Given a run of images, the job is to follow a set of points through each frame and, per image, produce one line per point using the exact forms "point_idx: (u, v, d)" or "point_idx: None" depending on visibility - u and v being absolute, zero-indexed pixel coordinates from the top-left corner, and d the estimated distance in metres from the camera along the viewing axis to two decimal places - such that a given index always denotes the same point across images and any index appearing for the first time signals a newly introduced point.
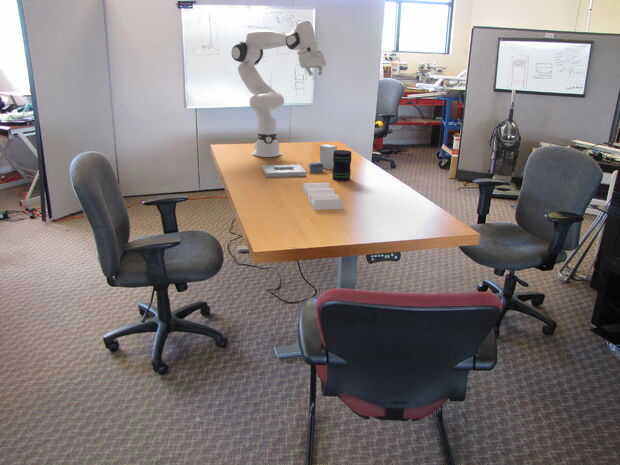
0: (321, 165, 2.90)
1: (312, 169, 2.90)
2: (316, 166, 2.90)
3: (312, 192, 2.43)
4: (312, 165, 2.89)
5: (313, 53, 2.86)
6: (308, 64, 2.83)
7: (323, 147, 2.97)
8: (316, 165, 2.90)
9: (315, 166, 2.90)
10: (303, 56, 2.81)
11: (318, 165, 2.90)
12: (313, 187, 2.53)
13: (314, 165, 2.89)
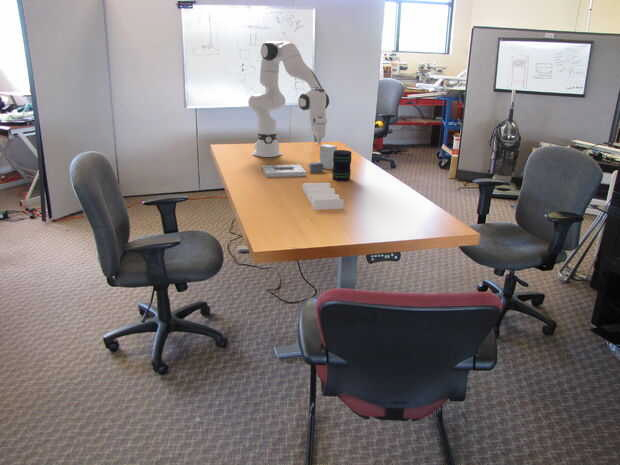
0: (321, 165, 2.90)
1: (312, 169, 2.90)
2: (316, 166, 2.90)
3: (312, 192, 2.43)
4: (312, 165, 2.89)
5: None
6: None
7: (323, 147, 2.97)
8: (316, 165, 2.90)
9: (315, 166, 2.90)
10: (324, 127, 2.75)
11: (318, 165, 2.90)
12: (313, 187, 2.53)
13: (314, 165, 2.89)
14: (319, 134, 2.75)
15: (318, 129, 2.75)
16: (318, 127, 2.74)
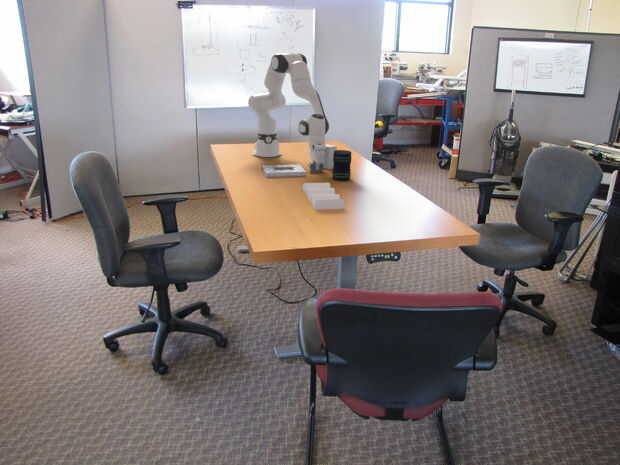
0: (321, 165, 2.90)
1: (312, 169, 2.90)
2: None
3: (312, 192, 2.43)
4: (312, 165, 2.89)
5: None
6: None
7: None
8: None
9: (315, 166, 2.90)
10: (323, 154, 2.80)
11: None
12: (313, 187, 2.53)
13: (314, 165, 2.89)
14: (318, 160, 2.80)
15: (317, 156, 2.80)
16: (317, 154, 2.80)
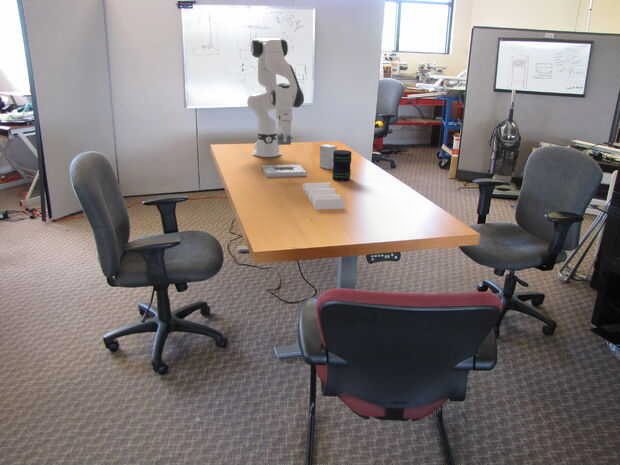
0: (289, 137, 2.80)
1: (279, 141, 2.79)
2: None
3: (313, 192, 2.43)
4: (279, 137, 2.78)
5: None
6: None
7: (323, 147, 2.97)
8: None
9: (282, 138, 2.79)
10: (289, 124, 2.70)
11: None
12: (314, 187, 2.53)
13: (281, 137, 2.79)
14: (284, 131, 2.70)
15: (283, 126, 2.69)
16: (283, 124, 2.69)
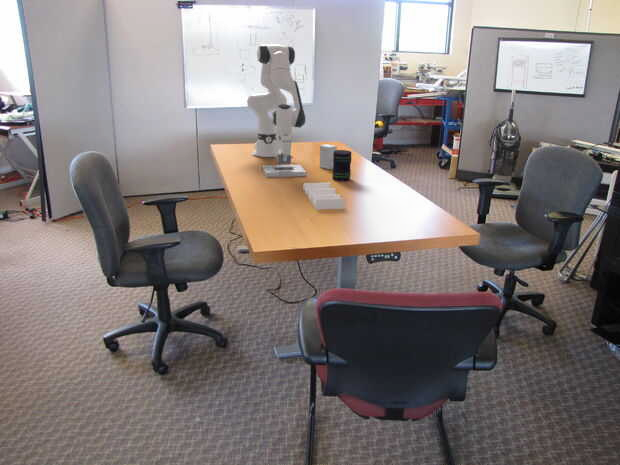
0: (289, 156, 2.83)
1: (279, 161, 2.83)
2: None
3: (313, 192, 2.44)
4: (279, 156, 2.82)
5: None
6: None
7: (323, 147, 2.97)
8: None
9: None
10: (289, 145, 2.73)
11: None
12: (314, 187, 2.53)
13: (281, 156, 2.82)
14: (285, 152, 2.74)
15: (283, 147, 2.73)
16: (283, 145, 2.73)
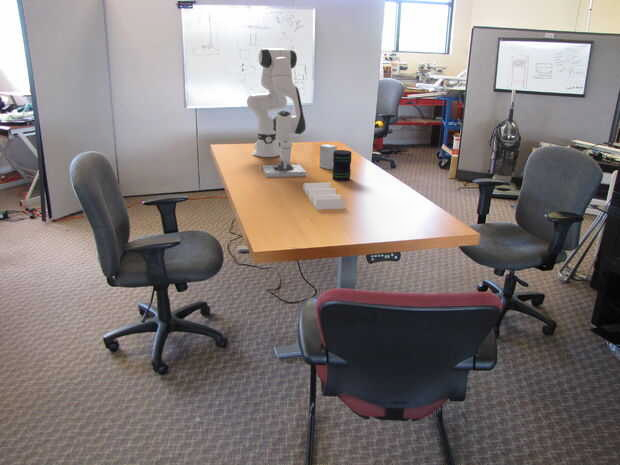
0: (288, 165, 2.85)
1: None
2: None
3: (313, 192, 2.44)
4: (279, 165, 2.84)
5: None
6: None
7: (323, 147, 2.97)
8: None
9: (282, 166, 2.85)
10: (289, 152, 2.75)
11: None
12: (314, 187, 2.53)
13: (281, 165, 2.84)
14: (284, 158, 2.75)
15: (283, 153, 2.74)
16: (283, 151, 2.74)
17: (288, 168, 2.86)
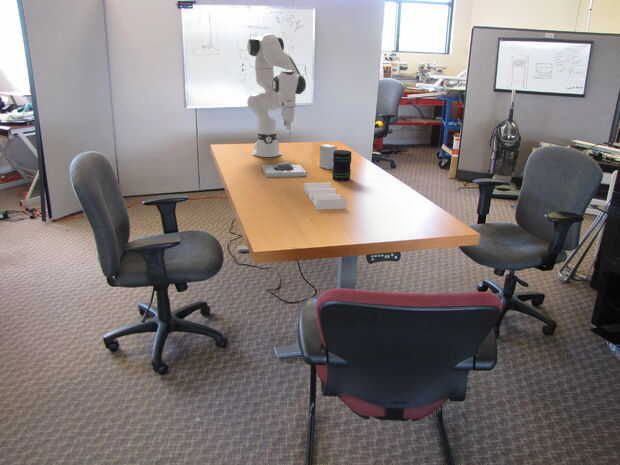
0: (288, 165, 2.85)
1: None
2: (284, 166, 2.85)
3: (313, 192, 2.44)
4: (279, 165, 2.84)
5: None
6: None
7: (323, 147, 2.97)
8: (283, 165, 2.85)
9: (282, 166, 2.85)
10: (292, 111, 2.69)
11: (285, 165, 2.85)
12: (314, 187, 2.53)
13: (281, 165, 2.84)
14: (287, 118, 2.69)
15: (286, 113, 2.69)
16: (286, 111, 2.68)
17: (288, 168, 2.86)
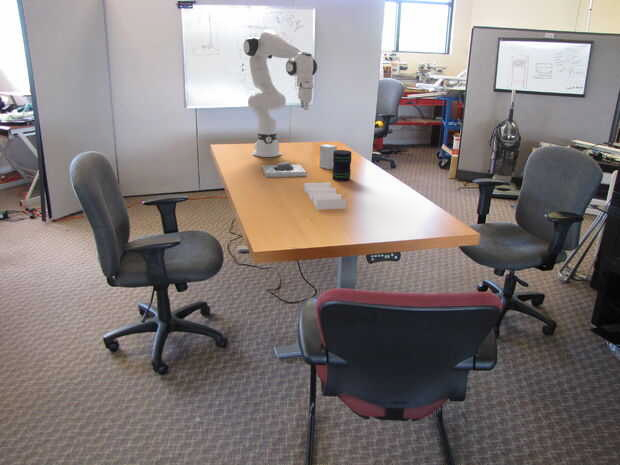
0: (288, 165, 2.85)
1: None
2: (284, 166, 2.85)
3: (314, 192, 2.44)
4: (279, 165, 2.84)
5: None
6: None
7: (323, 147, 2.97)
8: (283, 165, 2.85)
9: (282, 166, 2.85)
10: (310, 92, 2.75)
11: (285, 165, 2.85)
12: (314, 187, 2.53)
13: (281, 165, 2.84)
14: (306, 98, 2.75)
15: (305, 93, 2.74)
16: (305, 91, 2.74)
17: (288, 168, 2.86)
